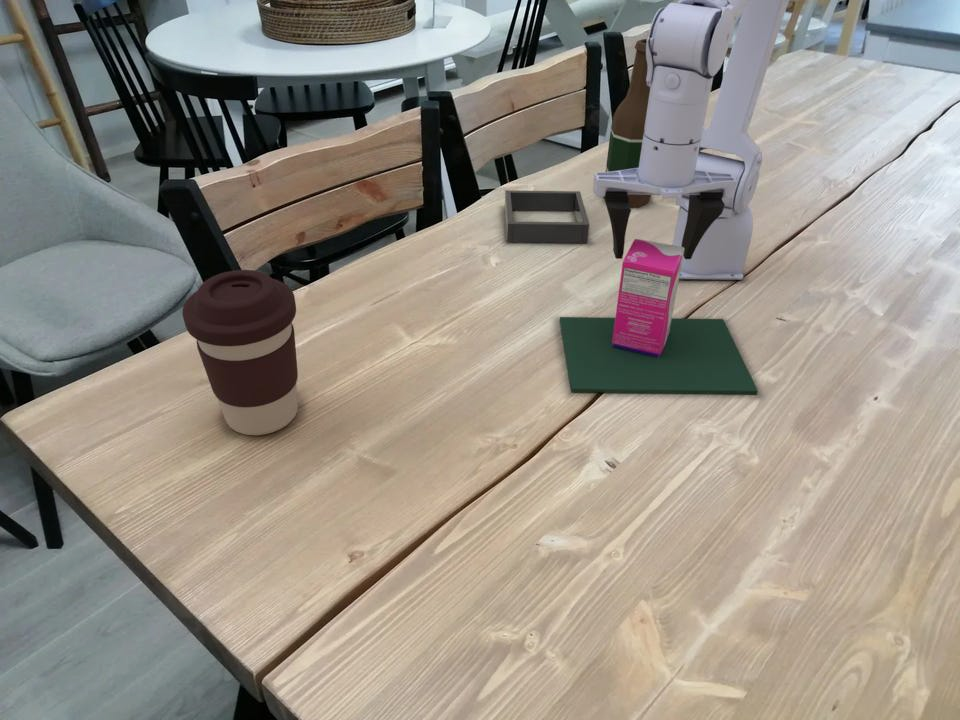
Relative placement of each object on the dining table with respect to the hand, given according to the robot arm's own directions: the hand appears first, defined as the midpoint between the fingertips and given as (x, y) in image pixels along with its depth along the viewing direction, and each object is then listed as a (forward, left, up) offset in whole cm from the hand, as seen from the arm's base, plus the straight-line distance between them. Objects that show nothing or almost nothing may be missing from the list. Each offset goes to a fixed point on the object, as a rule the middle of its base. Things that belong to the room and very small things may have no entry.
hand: (651, 254), depth 83 cm
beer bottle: (-5, -38, -11) cm, 40 cm away
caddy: (+9, -28, -10) cm, 31 cm away
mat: (-1, +5, -10) cm, 11 cm away
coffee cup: (+41, +16, -11) cm, 45 cm away
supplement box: (0, +3, -10) cm, 10 cm away
